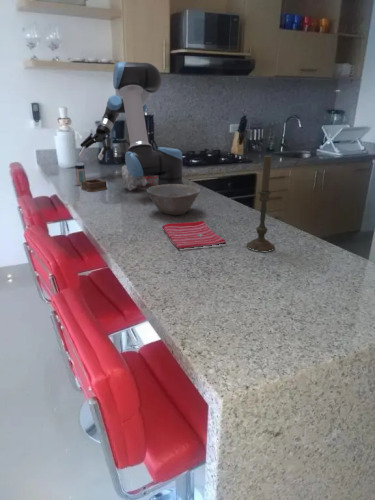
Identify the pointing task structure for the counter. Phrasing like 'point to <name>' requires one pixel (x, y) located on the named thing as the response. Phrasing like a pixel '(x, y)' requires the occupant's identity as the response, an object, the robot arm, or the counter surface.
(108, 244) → the counter surface
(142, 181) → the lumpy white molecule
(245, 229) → the counter surface
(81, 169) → the spice jar
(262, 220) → the candlestick holder
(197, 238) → the dish towel
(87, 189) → the walnut can stand
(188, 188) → the ceramic bowl
